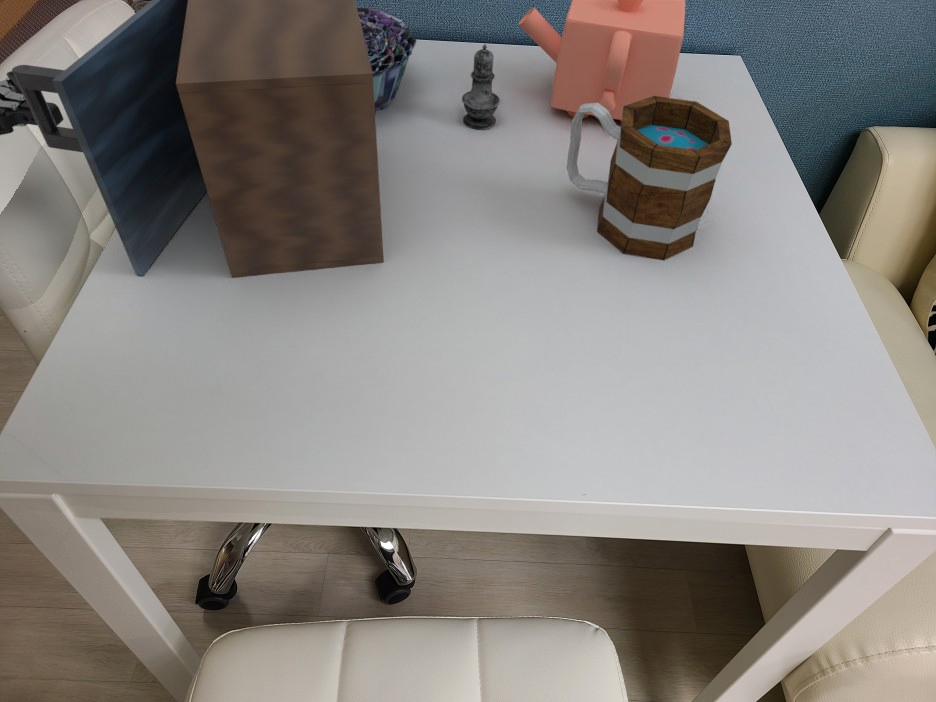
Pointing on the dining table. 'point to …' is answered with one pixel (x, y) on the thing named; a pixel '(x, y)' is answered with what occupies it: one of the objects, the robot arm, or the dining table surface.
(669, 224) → the mug
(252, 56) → the cupboard
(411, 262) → the dining table surface
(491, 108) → the salt shaker
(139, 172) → the cupboard door
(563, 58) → the teapot
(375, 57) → the decorative bowl
